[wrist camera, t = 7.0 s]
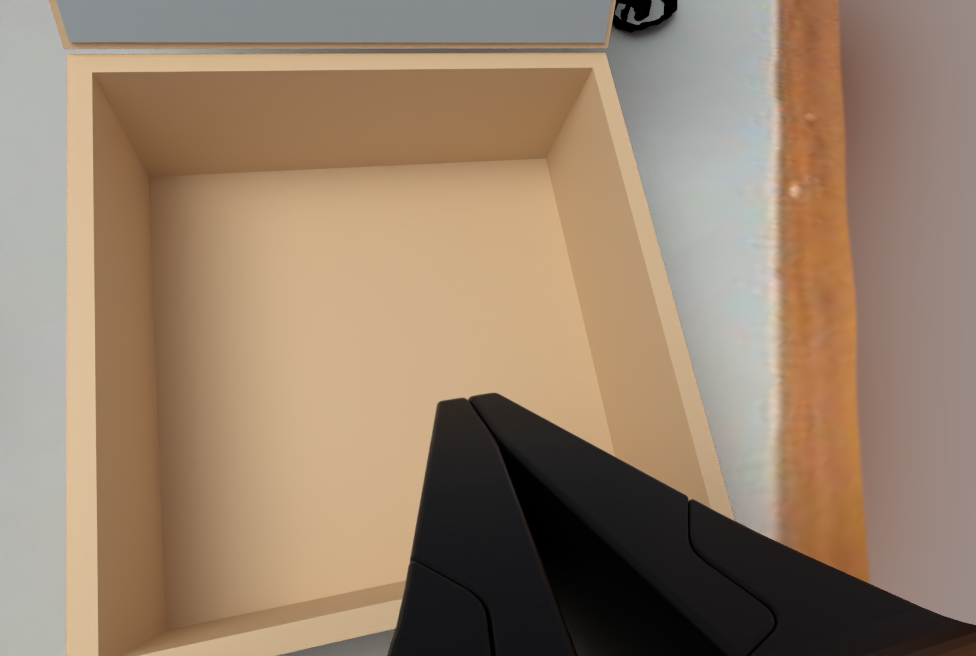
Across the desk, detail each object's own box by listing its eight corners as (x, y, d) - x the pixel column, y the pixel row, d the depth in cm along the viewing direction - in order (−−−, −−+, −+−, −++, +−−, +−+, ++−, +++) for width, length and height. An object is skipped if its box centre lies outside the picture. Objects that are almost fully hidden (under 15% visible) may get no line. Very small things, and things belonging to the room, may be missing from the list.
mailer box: (645, 547, 23) (742, 549, 17) (149, 654, 19) (66, 703, 13) (552, 153, 27) (605, 52, 21) (134, 171, 23) (67, 54, 17)
